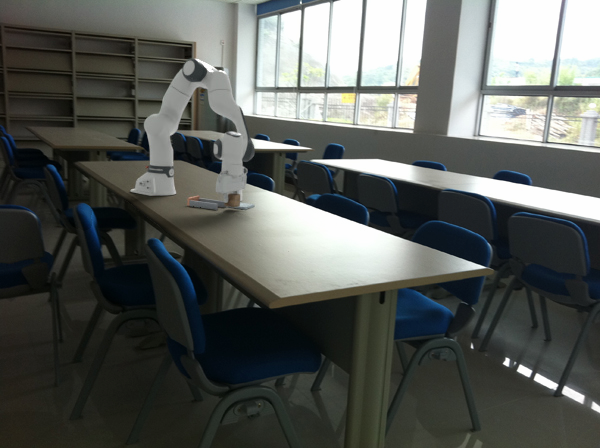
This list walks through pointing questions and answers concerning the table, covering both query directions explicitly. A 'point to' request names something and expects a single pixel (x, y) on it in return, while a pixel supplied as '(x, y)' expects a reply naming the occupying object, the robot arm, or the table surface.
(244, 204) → the tile
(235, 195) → the block
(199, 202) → the channel
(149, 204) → the table surface
